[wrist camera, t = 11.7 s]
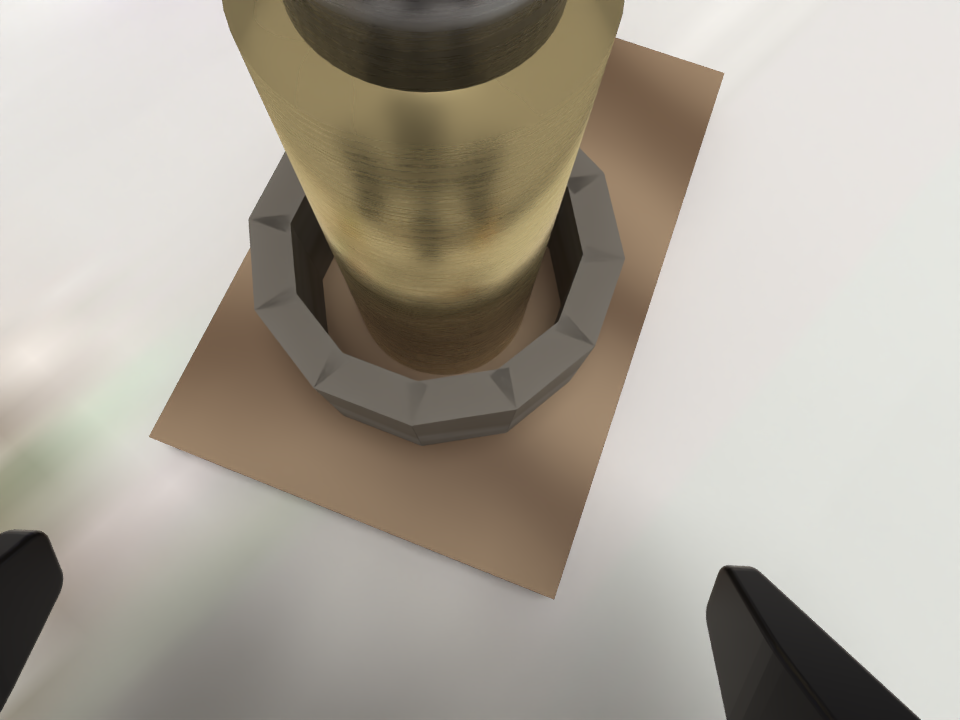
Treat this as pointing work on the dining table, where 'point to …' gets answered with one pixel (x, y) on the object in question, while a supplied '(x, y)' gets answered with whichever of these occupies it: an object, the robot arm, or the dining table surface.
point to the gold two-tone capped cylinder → (431, 150)
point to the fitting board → (464, 396)
